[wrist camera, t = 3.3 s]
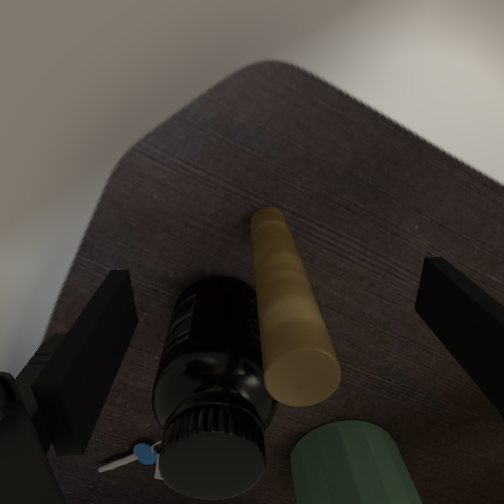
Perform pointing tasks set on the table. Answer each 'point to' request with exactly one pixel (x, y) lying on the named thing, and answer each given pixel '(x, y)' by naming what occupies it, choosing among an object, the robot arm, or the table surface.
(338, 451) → the tumbler
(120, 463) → the key chain
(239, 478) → the supplement bottle
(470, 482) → the table surface
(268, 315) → the yellow cylindrical rod
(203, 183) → the table surface
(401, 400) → the table surface
